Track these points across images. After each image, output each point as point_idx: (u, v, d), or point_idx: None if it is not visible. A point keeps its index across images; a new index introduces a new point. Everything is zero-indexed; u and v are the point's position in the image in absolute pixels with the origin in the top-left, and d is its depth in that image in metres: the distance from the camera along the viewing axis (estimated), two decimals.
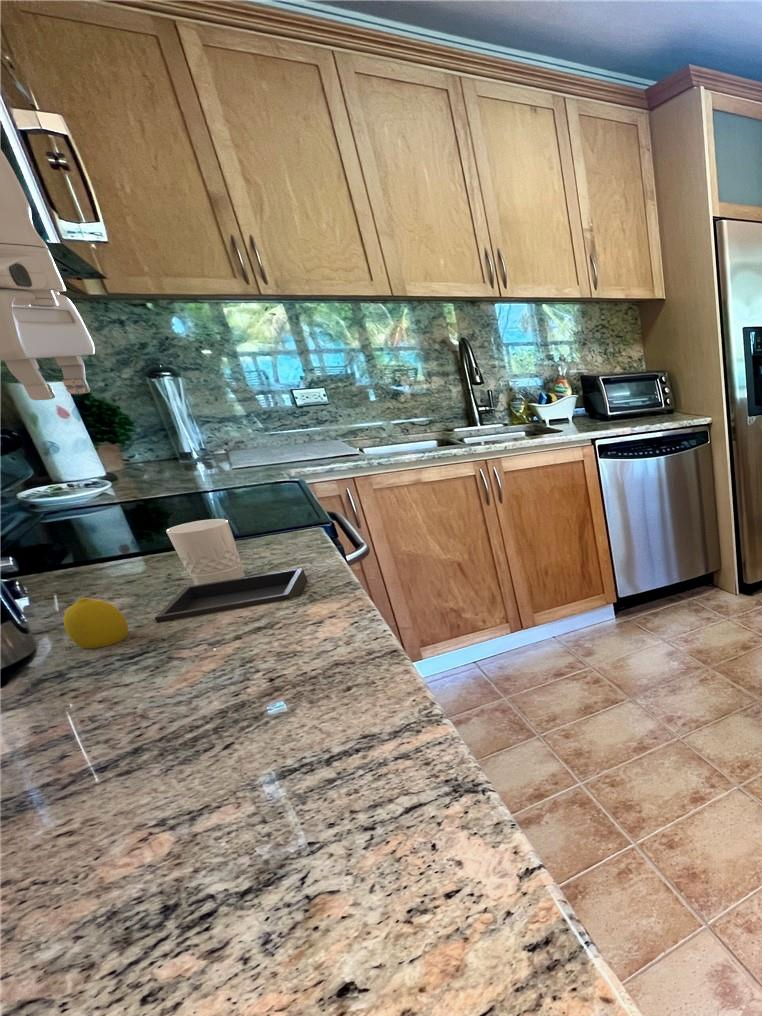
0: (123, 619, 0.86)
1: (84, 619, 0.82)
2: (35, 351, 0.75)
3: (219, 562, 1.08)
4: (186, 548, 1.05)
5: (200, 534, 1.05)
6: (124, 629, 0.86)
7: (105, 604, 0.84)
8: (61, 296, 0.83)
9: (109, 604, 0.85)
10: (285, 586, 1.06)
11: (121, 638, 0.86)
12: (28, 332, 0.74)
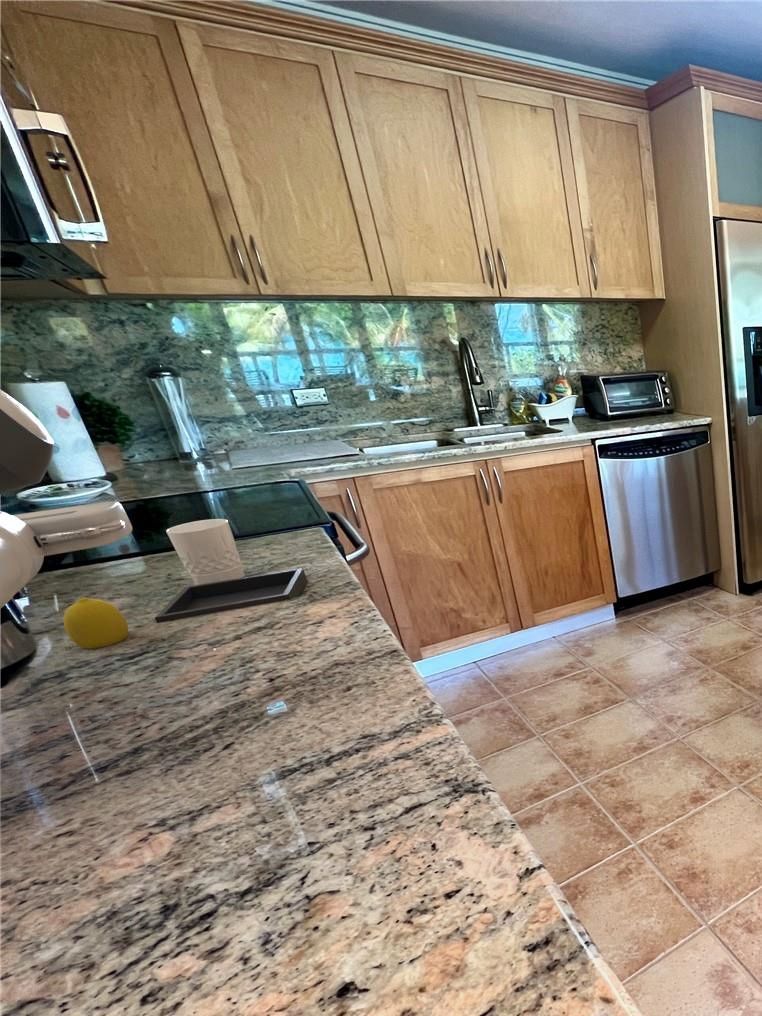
0: (123, 619, 0.86)
1: (84, 619, 0.82)
2: None
3: (219, 562, 1.08)
4: (186, 548, 1.05)
5: (200, 534, 1.05)
6: (124, 629, 0.86)
7: (105, 604, 0.84)
8: (80, 549, 0.66)
9: (109, 604, 0.85)
10: (285, 586, 1.06)
11: (121, 638, 0.86)
12: None
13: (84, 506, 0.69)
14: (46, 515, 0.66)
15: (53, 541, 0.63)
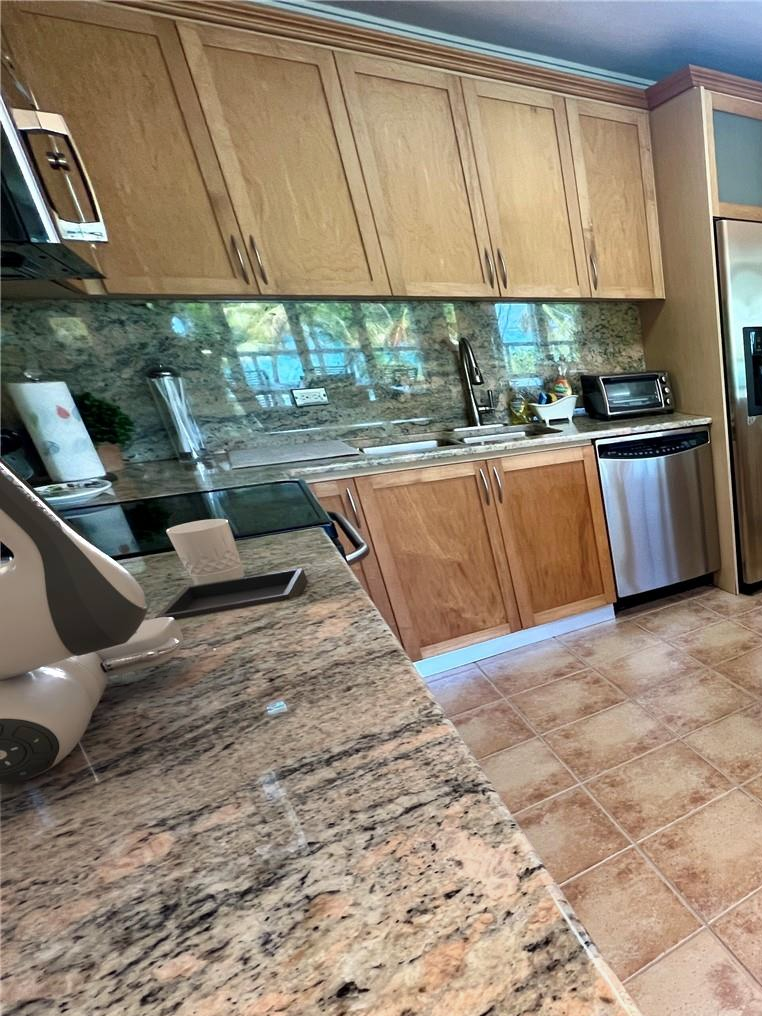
0: None
1: None
2: None
3: (219, 562, 1.08)
4: (186, 548, 1.05)
5: (200, 534, 1.05)
6: None
7: None
8: (139, 669, 0.72)
9: None
10: (285, 586, 1.06)
11: None
12: None
13: (142, 624, 0.75)
14: None
15: (117, 666, 0.70)
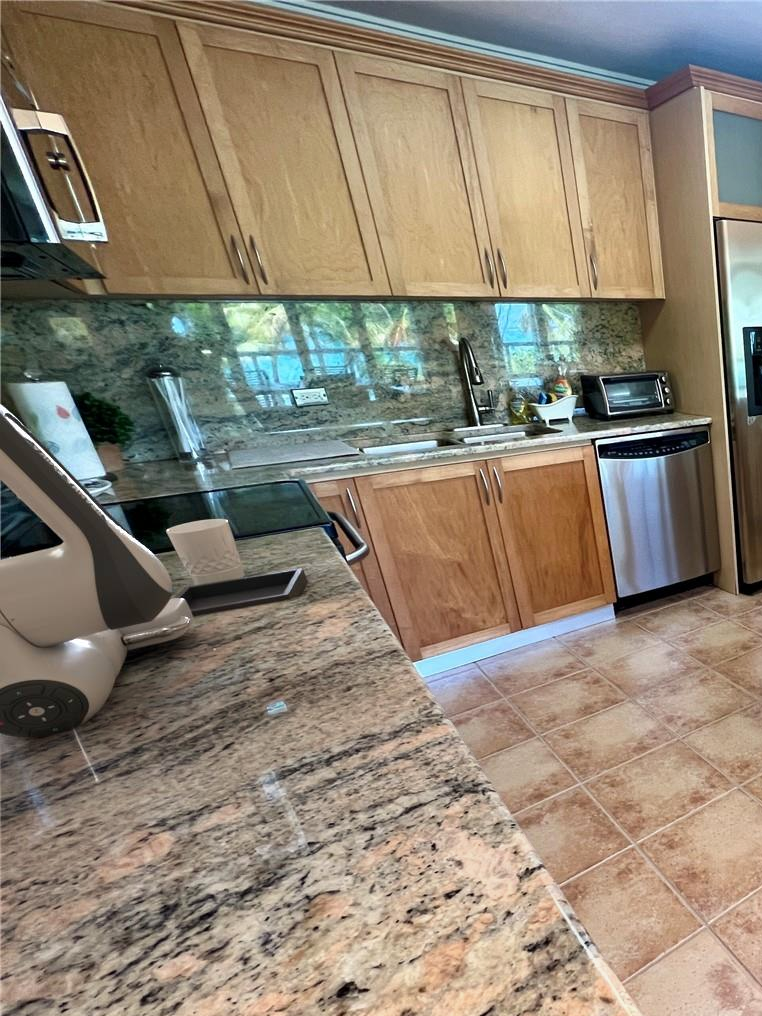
0: None
1: None
2: None
3: (219, 562, 1.08)
4: (186, 548, 1.05)
5: (200, 534, 1.05)
6: None
7: None
8: (155, 643, 0.81)
9: None
10: (285, 586, 1.06)
11: None
12: None
13: None
14: None
15: (135, 640, 0.78)
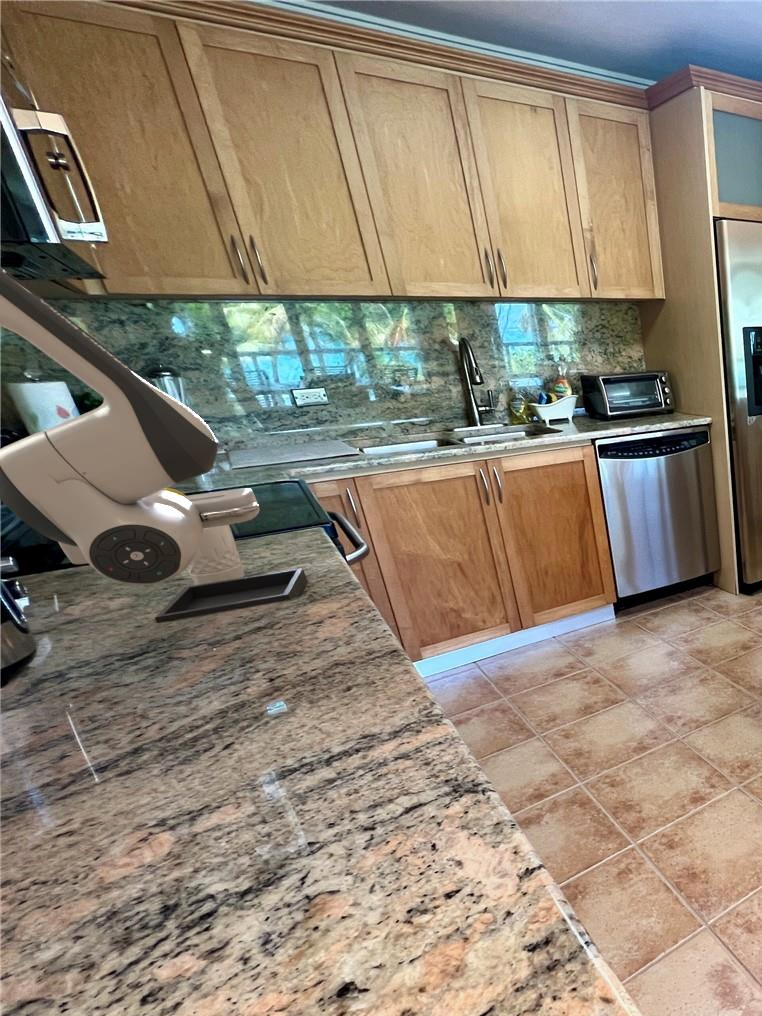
0: None
1: None
2: None
3: (219, 562, 1.08)
4: None
5: None
6: None
7: (179, 493, 0.90)
8: (228, 524, 0.87)
9: (182, 493, 0.91)
10: (285, 586, 1.06)
11: None
12: None
13: (227, 491, 0.90)
14: (202, 498, 0.87)
15: (212, 517, 0.84)
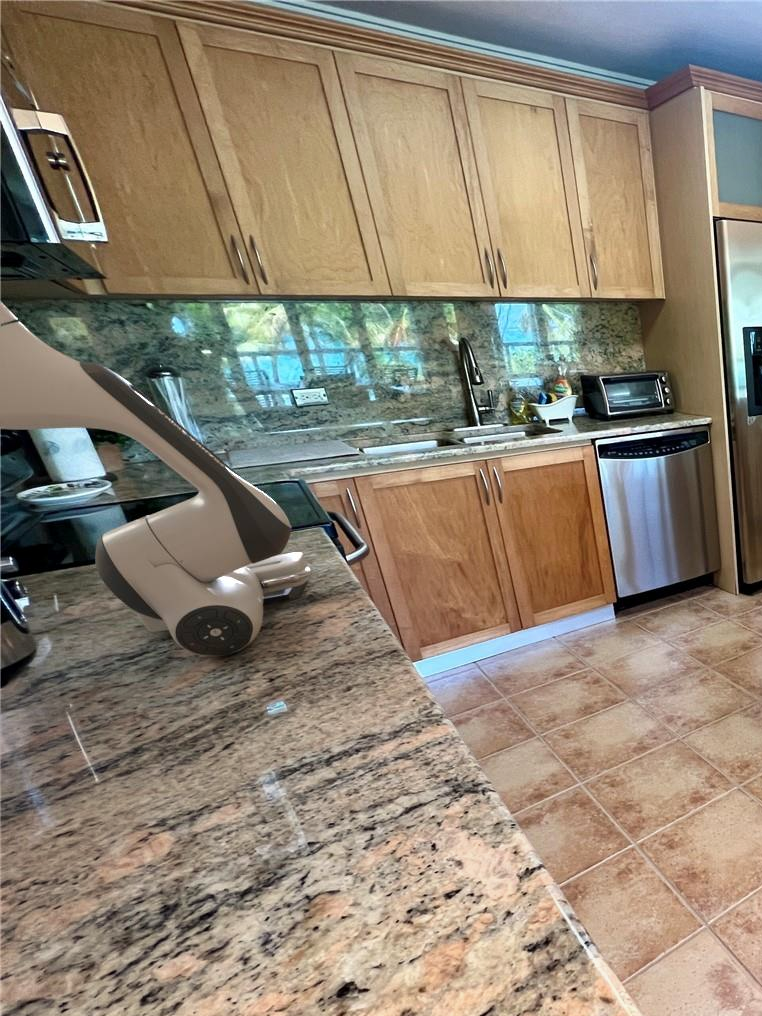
0: None
1: None
2: None
3: None
4: None
5: None
6: None
7: None
8: None
9: None
10: None
11: None
12: None
13: (281, 556, 0.97)
14: (261, 564, 0.95)
15: (271, 585, 0.92)
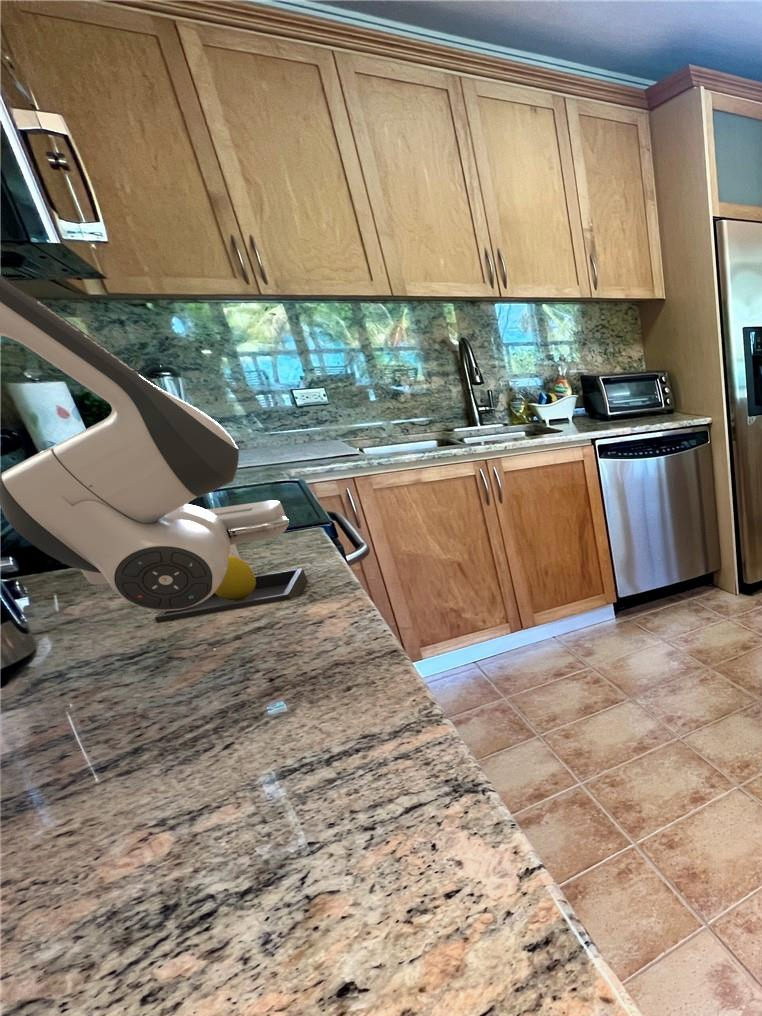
0: (252, 573, 1.00)
1: None
2: None
3: None
4: None
5: None
6: (253, 582, 1.00)
7: (239, 560, 0.98)
8: (256, 540, 0.81)
9: (242, 560, 0.99)
10: (285, 586, 1.06)
11: (251, 589, 0.99)
12: None
13: (254, 504, 0.84)
14: (229, 511, 0.81)
15: (240, 534, 0.78)
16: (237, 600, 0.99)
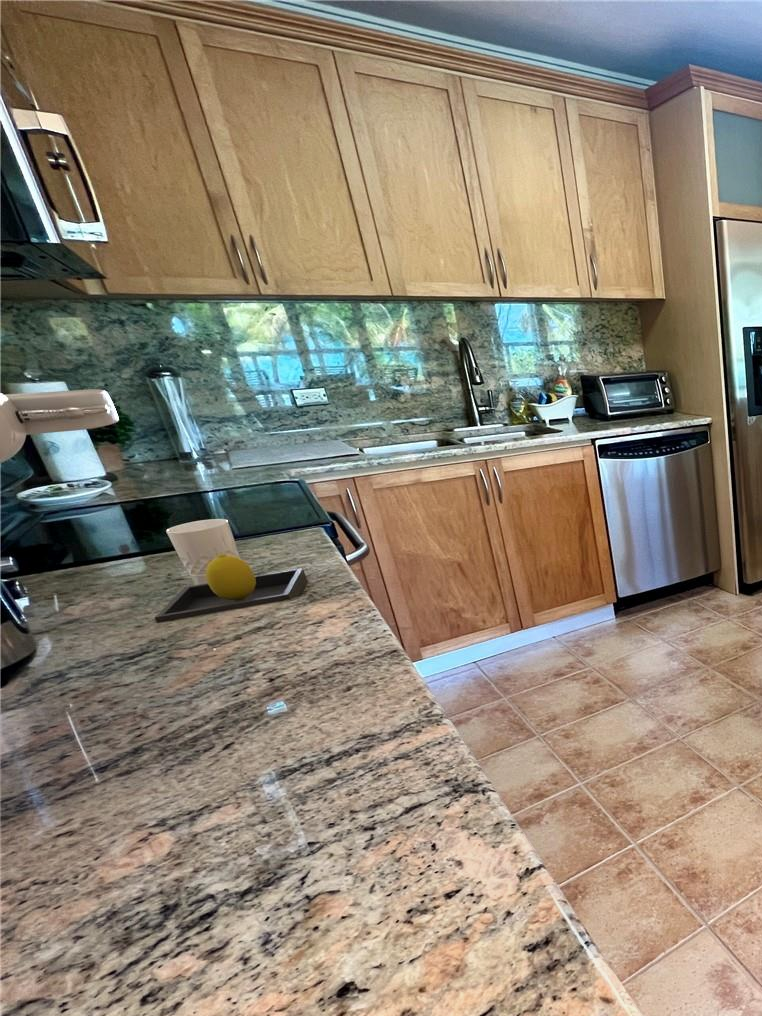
0: (252, 573, 1.00)
1: (224, 572, 0.96)
2: None
3: None
4: (186, 548, 1.05)
5: (200, 534, 1.05)
6: (253, 582, 1.00)
7: (239, 560, 0.98)
8: (63, 430, 0.65)
9: (242, 560, 0.99)
10: (285, 586, 1.06)
11: (251, 589, 0.99)
12: None
13: (69, 391, 0.68)
14: (30, 395, 0.65)
15: (35, 417, 0.62)
16: (237, 600, 0.99)
